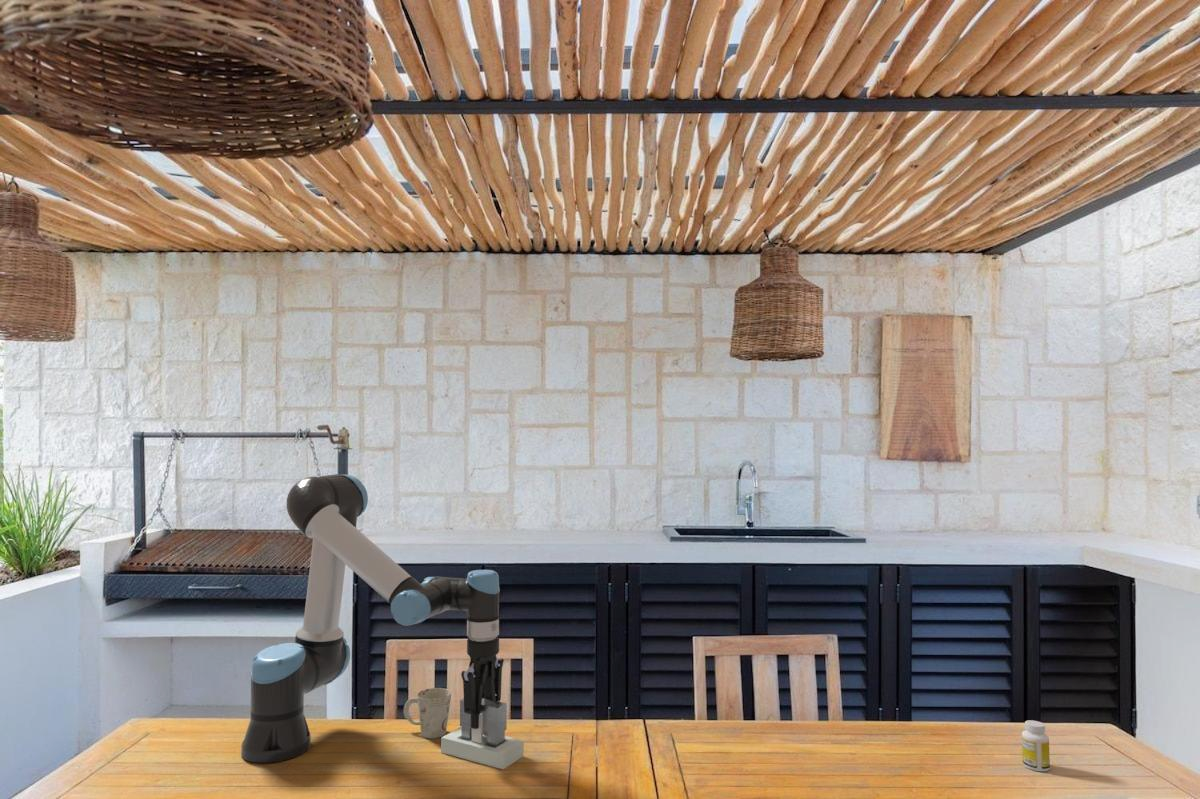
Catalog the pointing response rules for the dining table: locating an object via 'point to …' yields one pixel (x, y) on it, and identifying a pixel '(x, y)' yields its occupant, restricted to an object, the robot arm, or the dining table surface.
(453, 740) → the block
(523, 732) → the dining table surface
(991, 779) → the dining table surface
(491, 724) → the clip
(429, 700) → the mug
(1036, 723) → the supplement bottle
